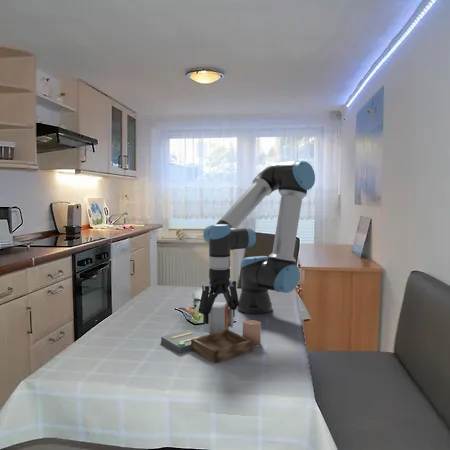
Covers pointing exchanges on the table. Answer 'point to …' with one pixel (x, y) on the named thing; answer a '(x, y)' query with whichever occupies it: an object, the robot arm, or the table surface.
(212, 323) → the small box
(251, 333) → the peach rounded capsule
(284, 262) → the robot arm
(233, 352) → the wooden tray
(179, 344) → the grey square slab
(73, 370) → the table surface
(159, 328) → the table surface
